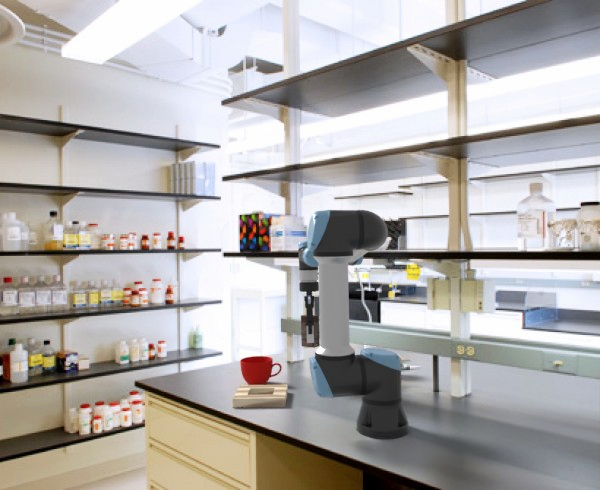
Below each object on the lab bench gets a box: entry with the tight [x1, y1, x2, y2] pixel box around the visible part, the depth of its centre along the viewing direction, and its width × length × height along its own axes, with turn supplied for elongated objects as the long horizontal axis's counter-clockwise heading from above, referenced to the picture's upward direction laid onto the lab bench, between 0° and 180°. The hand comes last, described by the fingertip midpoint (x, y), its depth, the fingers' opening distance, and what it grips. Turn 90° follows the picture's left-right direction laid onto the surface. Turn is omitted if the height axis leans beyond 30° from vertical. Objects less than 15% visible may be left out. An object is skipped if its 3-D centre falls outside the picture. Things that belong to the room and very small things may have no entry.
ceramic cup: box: [239, 355, 283, 385], centre depth 197 cm, size 13×17×10 cm
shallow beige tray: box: [232, 384, 289, 409], centre depth 177 cm, size 17×18×3 cm
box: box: [300, 314, 320, 349], centre depth 190 cm, size 6×4×12 cm
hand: (310, 340), depth 190 cm, fingers closed on box, 6 cm apart
